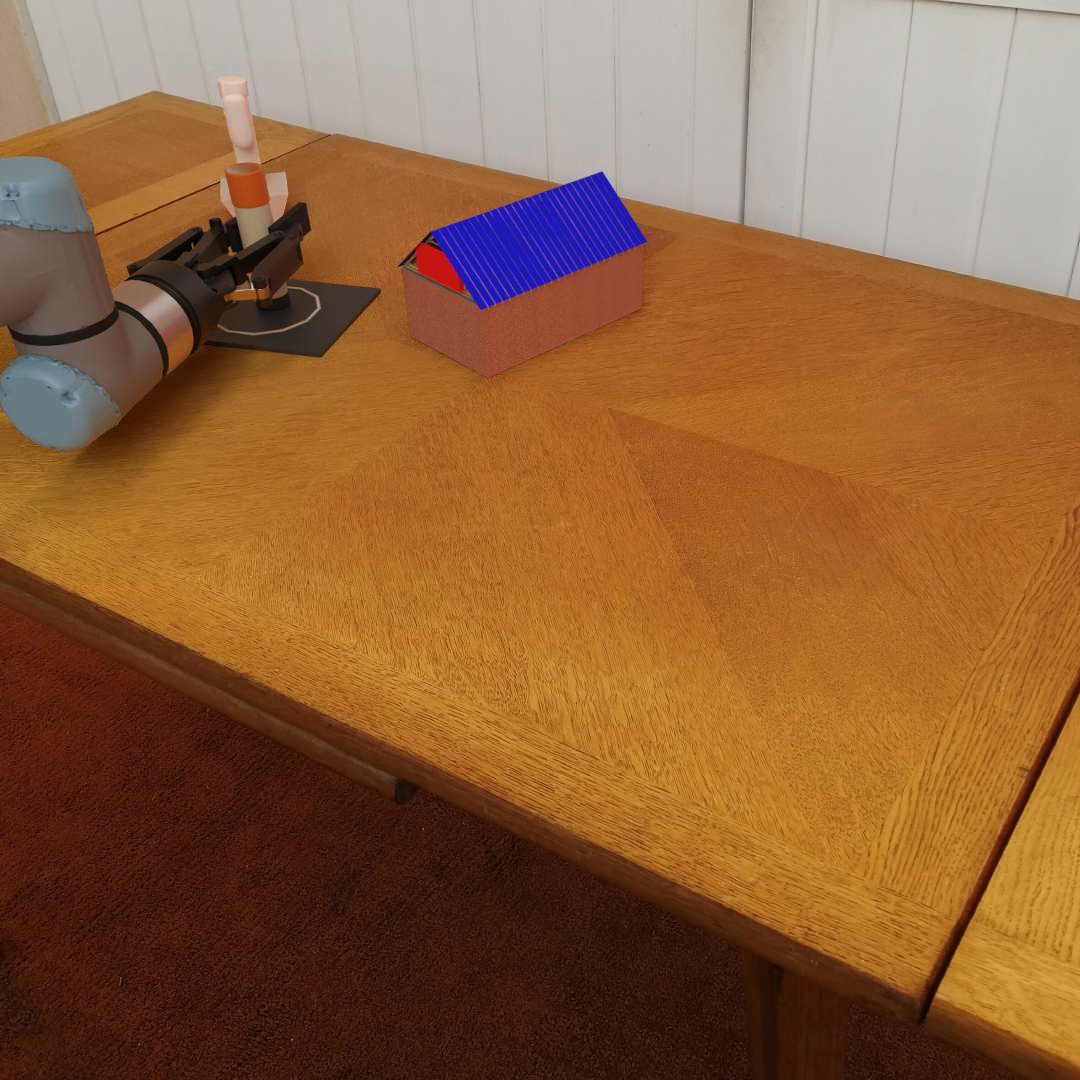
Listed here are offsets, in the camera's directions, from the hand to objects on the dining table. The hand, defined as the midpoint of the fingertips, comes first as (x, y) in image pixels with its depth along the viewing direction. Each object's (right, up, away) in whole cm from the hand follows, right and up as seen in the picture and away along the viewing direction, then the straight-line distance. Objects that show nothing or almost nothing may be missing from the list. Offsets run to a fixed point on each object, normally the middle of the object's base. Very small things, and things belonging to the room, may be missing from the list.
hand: (284, 214), depth 109 cm
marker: (-1, -9, 0) cm, 9 cm away
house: (+24, -11, -2) cm, 27 cm away
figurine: (-8, +6, +18) cm, 21 cm away
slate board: (-2, -10, 0) cm, 10 cm away
